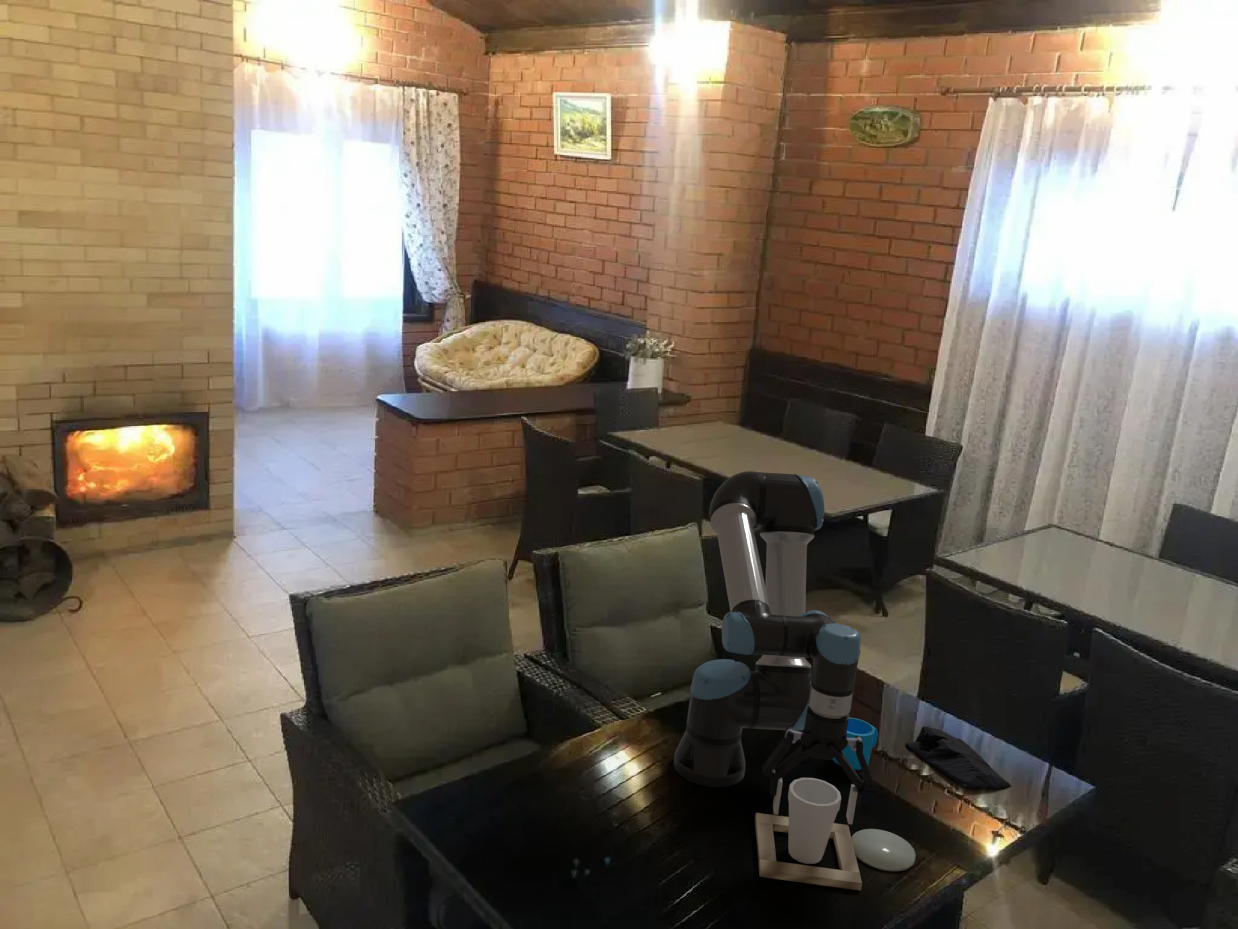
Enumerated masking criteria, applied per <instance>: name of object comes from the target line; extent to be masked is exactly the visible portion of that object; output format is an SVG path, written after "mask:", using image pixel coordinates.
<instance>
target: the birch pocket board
mask: <svg viewBox="0 0 1238 929" xmlns="http://www.w3.org/2000/svg"><path fill="white" fill-rule="evenodd" d="M754 825H755V836H756V848H757V849H756V850H757V859H758V860H757V862H758V872H759V874H758V875H759V878H760V877H761V878H768V879H775V880H782V881H788V882H796V883H804V884H811V885H816V886H817V885H819V886H825V887H826V886H827V887H834V888H840V889H845V890H856V891H862V886H863V882H862V878H861V872H860V869H859V866H858V865H859V864H858V861H857V857H856V855H855V851H854V847H853V843H852V839H851V838H852V836H851V830H850V827H849V824H842V823H836V822H834V824H833V827H832V830H831V833H830V836H829V839H831V840H833V842H834V843H833V844H834V847H835V851H836V857H837V862H838V866H839V869H836V868H835V869H834V868H828V867H822V866H821V867H819V866H814V865H813V866H812V865H806V864H800V863H799V864H798V863H792V862H791V863H790V862H783V861H777V856H776V854H777V853H776V847H775V837H774V836H775V835H774V832H780V833H787V834H789V816H783V815H776V814H769V813H761V812H755V816H754Z"/></svg>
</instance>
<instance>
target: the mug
mask: <svg viewBox="0 0 1238 929" xmlns="http://www.w3.org/2000/svg"><path fill="white" fill-rule="evenodd" d="M857 735H859V736H860V737H861V739H862V742H863V754H864V757H865V760H866V762H867V765H868V766H869V765H870V759H871V754H872V749H873V748H874V747H875V745H876V744H877V741H878V739H879V732H878V730H877V728H876V727H875V726H873V725H872V724H870V722H867V721H865V720H864V719H863V720H862V719H859V718H856V717H855V718H854V717H849V721H848V728H847V734H846V737H847V738H855V736H857ZM842 752H843V754H844V756H845V757H846V758H847V760H848V761H849V763H850V764H851V766H852V767H853V769H854V770H855V771H856V770H857V771H858V770H862V769H861V766H860V764H859V761H858V758H857V755H856V752H855V751H853V750H852V749H851V747H850V746H849V745H847V747H846V748H845V749H844V750H843V751H842ZM832 761H833V762H834V763H835V764H837V765H839V766H840V767H841V765H840V764H839V763H838V762H837V760H836V759H835V758H833V759H832Z"/></svg>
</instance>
